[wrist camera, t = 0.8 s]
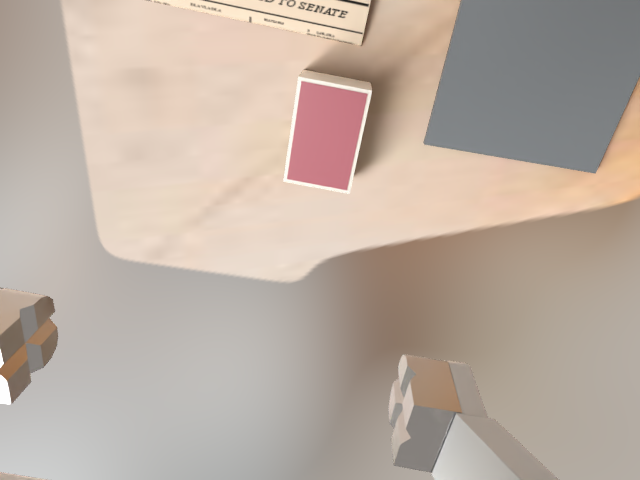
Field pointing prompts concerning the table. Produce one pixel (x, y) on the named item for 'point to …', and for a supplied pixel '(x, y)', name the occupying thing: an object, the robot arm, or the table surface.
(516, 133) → the mat
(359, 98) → the card box
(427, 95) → the table surface
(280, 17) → the newspaper
